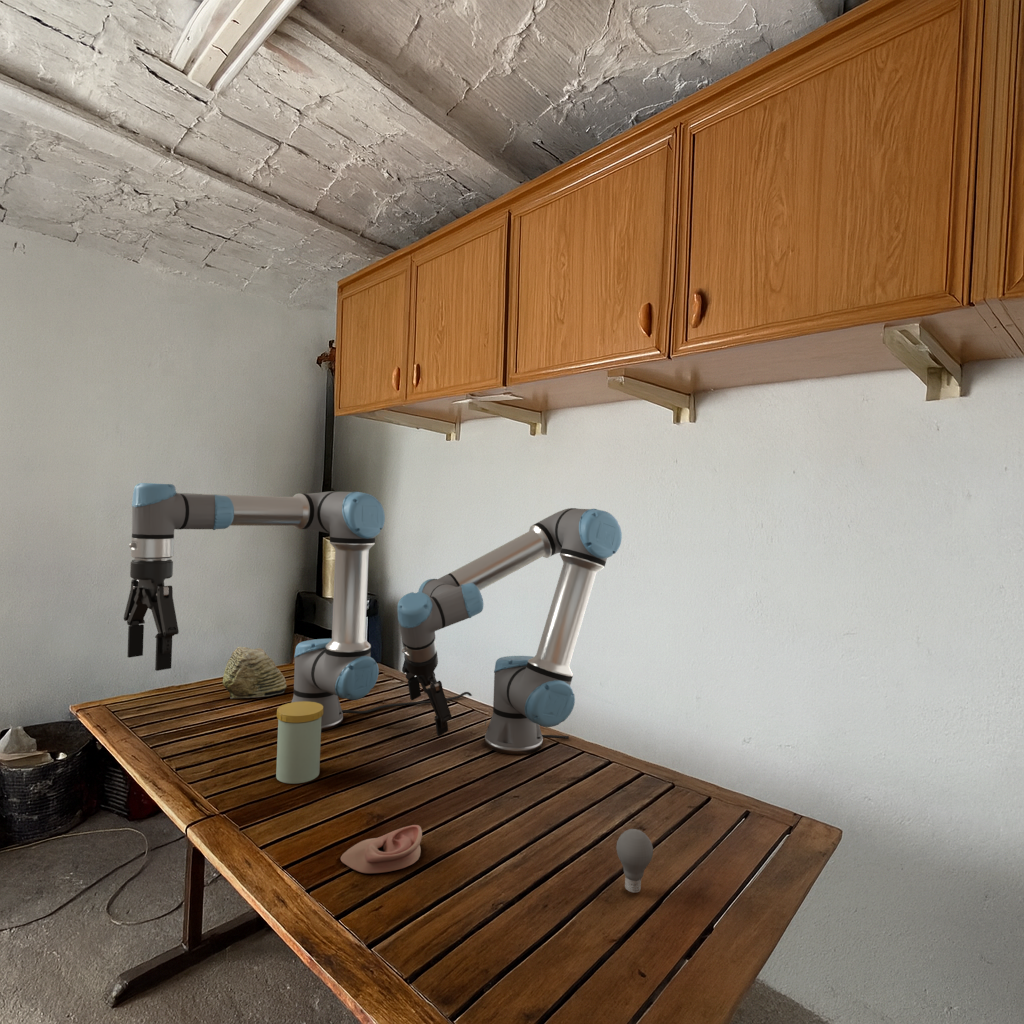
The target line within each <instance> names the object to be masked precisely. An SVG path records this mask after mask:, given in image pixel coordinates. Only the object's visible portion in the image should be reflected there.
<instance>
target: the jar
mask: <svg viewBox="0 0 1024 1024" xmlns="http://www.w3.org/2000/svg"><path fill="white" fill-rule="evenodd" d="M321 718H322V717H320V718H318V719H316V720H313V721H309V722H302V723H289V722H284V721H281V720H279V719H278V718H277V741H276V742H277V743H276V766H275V767H276V769H275V770H276V771H275V778H276V780H277V781H279V782H281V783H284V784H288V785H289V784H290V785H291V784H292V785H293V784H295V785H296V784H303V783H307V782H311V781H313V780H315V779H317V778H318V777H319V775H320V771H321V767H320V765H321V764H320V763H321V745H322V743H321V742H322V741H321V740H322V731H321Z"/></svg>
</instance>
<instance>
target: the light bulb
mask: <svg viewBox="0 0 1024 1024" xmlns="http://www.w3.org/2000/svg"><path fill="white" fill-rule="evenodd" d="M615 849H616V854H617V857H618V859H619V861H620V863H621V865H622V867H623V873H624V874H623V875H624V876H625V878H624V888H625V890H627V891H628V892H630V893H634V894H635V893H639V892H640V891H641V889H642V887H641V886H642V879H643V877H644V875H645V871H646V868H647V867H648V866H649V864H650V863H651V861H652V859H653V855H654V847H653V843H652V841H651V838H649V836H648V835H647V834H646V833H645V832H643V831H642V830H641V829H636V828H629V829H627V830H625V831H623V832H622V833H621V834H620V835H619V837H618V839H617V841H616V847H615Z"/></svg>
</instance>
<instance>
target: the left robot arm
mask: <svg viewBox="0 0 1024 1024" xmlns="http://www.w3.org/2000/svg"><path fill="white" fill-rule="evenodd" d="M385 515H386V513H385V511H384V508H383V505H382V503H381V502H380V501H379V500H378V498H377V497H375V495H373V494H370V493H367V492H363V491H362V492H361V491H337V490H336V491H335V490H333V491H332V490H330V491H321V492H311V493H295V494H294V495H293V496H276V495H275V496H274V495H273V496H272V495H248V494H247V495H246V494H244V495H243V494H220V493H219V494H218V493H217V494H216V493H215V494H214V493H189V492H187V493H186V492H177V491H176V486H175V485H174V484H173V483H152V482H139V483H137V484H136V485H135V486H134V488H133V492H132V501H131V520H132V521H131V542H130V543H128V547H129V548H130V549H131V550H130V556H131V558H133V559H132V560H131V561H130V567H129V568H130V571H129V574H130V575H129V576H130V578H131V581H130V590H129V594H128V598H127V603H126V607H125V610H124V615H123V621H124V622H126V624H127V626H128V629H127V630H128V631H127V658H135V657H142V656H144V635H145V634H144V630H145V625H144V624H145V623H146V621H145V619H144V618H145V616H146V615H147V612H148V609H149V610H151V613H152V618H153V620H154V624H155V627H156V631H157V633H156V635H155V636H154V638H155V661H154V663H155V665H154V668H155V669H154V670H155V671H157V672H159V671H164V670H169V669H172V659H173V657H172V655H173V637H175V636H176V635H179V632H180V631H179V625H178V619H177V615H176V614H177V613H176V609H175V603H174V597H173V595H174V593H173V585H165V580H167V579H171V578H172V577H173V575H174V573H173V572H174V561H173V560H172V559H171V558H173V557H174V554H175V553H174V552H175V530H213V531H215V530H224V529H228V528H230V526H233V527H234V526H237V527H238V526H240V527H243V526H246V527H247V526H249V527H250V526H258V527H259V526H268V527H269V526H276V527H277V526H282V527H284V526H285V527H286V526H287V527H288V526H289V527H290V526H291V527H293V528H294V529H296V530H308V531H309V530H310V531H316V532H319V533H325V534H329V544H330V545H331V546H332V547H333V548H334V550H335V551H334V572H333V573H334V577H333V599H332V625H331V626H332V627H331V638H317V639H308V640H304V641H300V642H299V643H297V645H296V646H295V650H294V655H293V657H294V672H293V673H294V674H293V695H292V696H293V697H292V699H291V702H290V703H292V702H301V701H308V702H316V703H319V704H321V705H322V706H323V709H324V713H323V715H322V718H321V732H325V731H329V730H332V729H335V728H337V727H339V726H340V725H342V723H343V722H344V714H356V715H364V714H369V713H372V712H375V711H378V710H381V709H382V710H383V709H386V708H392V707H394V708H395V707H402V706H403V707H404V706H413V705H415V706H416V705H427V704H428V705H429V704H431V702H430V700H421V701H410V702H409V701H408V702H399V703H390V704H384V705H379V706H376V707H372V708H369V709H367V710H366V709H365V710H352V709H342V706H341V702H340V699H339V698H341V699H342V700H343V699H344V700H348V701H349V700H350V701H357V700H360V699H362V698H364V697H365V696H367V695H368V694H370V692H371V690H372V689H374V687H375V685H376V683H377V682H378V678H379V674H380V672H379V671H380V670H379V669H380V668H379V665H378V663H377V662H376V660H375V659H374V657H371V652H372V649H371V648H372V644H371V643H370V642H368V640H367V639H366V631H367V607H368V606H367V605H368V604H367V602H368V582H369V581H368V579H369V555H370V553H369V552H370V550H371V548H372V547H374V545H375V544H376V536H378V535H379V534H380V533H381V530H383V528H384V526H385V522H386V521H385V520H386V516H385ZM466 695H467V696H469V697H472V696H473V694H472V693H471V692H469V691H463V692H462V693H460V694H458V695H456V696H455V695H454V696H450V697H445V698H446V701H447V702H448V701H453V700H457V699H458V700H459V699H460V698H462V697H464V696H466Z"/></svg>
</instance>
